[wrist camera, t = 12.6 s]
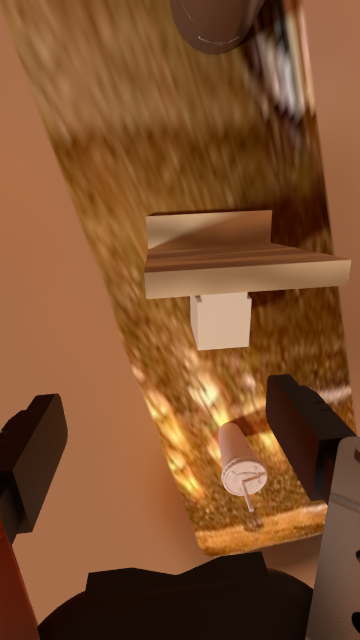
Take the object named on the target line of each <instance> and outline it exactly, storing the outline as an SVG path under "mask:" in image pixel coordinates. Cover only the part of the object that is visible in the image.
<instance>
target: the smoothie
mask: <svg viewBox="0 0 360 640" xmlns="http://www.w3.org/2000/svg"><path fill="white" fill-rule="evenodd" d="M218 435H219V443H220V451H221V460H222V468H223V471H222V481H223V484H224V487H225V488H226V490H227V491H228V492H230V493H231V494H234V495H238V496H245V498H246V502H247V505H248V508H249V511H250V512H252V511H254V509H253V506H252V503H251V500H250V497H249V495H250V494H253V493H255V492H257V491H259V490H260V489H261V488H262V487H263V486H264V485H265V483H266V481H267V471H266V468H265V465H264V463H263V462H262V461H261V460H260V459H258V458H257V456H256V454H255V453H254V451H253V449H252V448H251V446H250V444H249V443H248V441H247V440H246V438H245V436H244V435H243V433H242V431H241V430H240V428H239V426H238V425H237V424H235V423H231V422H229V423H225V424H223V425H222V426H221V427H220V428H219V431H218Z"/></svg>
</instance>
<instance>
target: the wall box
mask: <svg viewBox="0 0 360 640" xmlns="http://www.w3.org/2000/svg"><path fill="white" fill-rule="evenodd" d="M247 293H248V292H240V293H226V294H211V295H197V296H190V306H191V327H192V330H193V334H194V337H195V341H196V344H197V348H198V350H209V349H222V348H234V347H247V346H249V331H250V316H251V301H252V299H251V298H250V296H249V295H248V294H247Z"/></svg>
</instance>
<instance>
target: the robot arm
mask: <svg viewBox="0 0 360 640" xmlns="http://www.w3.org/2000/svg"><path fill="white" fill-rule="evenodd" d="M264 1H265V0H171V7H172V12H173V17H174V19H175V22H176V25H177V27H178V29H179V31H180V32H181V34H182V36H183V37H184V38H185V39H186V40H187V41H188V43H189V44H190V45H192V46H193V47H195V48H196V49H197V50H200V51H202V52H205V53H209V54H219V53H224V52H227V51H229V50H231V49H233V48H234V47H236V46H237V45H238V44H240V42H241V41H242V40H243V39H244V38H245V37H246V35H247V33H248V32H249V30H250V28H251V26H252V24H253V22H254V20H255V18H256V16H257V15H258V13H259V11H260V9H261V7H262V5H263V3H264ZM266 417H267V421H268V424H269V426H270V428H271V430H272V432H273V434H274V435H275V437H276V439H277V441H278V443H279V444H280V446H281V448H282V450H283V452H284V453H285V455H286V457H287V459H288V461H289V463H290V464H291V466H292V468H293V470H294V472H295V473H296V475H297V477H298V479H299V481H300V482H301V484H302V486H303V488H304V490H305V492H306V493H307V495H308V497H309V499H310V501H317V500H325V502H326V504H327V505H328V508H327V514H326V520H325V526H324V532H323V538H322V544H321V549H320V555H319V561H318V567H317V573H316V578H315V584H314V589H312V588H311V587H309V586H308V585H307V584H305V583H304V582H302V581H300V580H298V579H297V578H295V577H293V576H291V575H289V574H287V573H285V572H282V571H278V570H275V569H272V568H267V567H266V565H265V562H264V558H263V555H262V552H261V551H260V552H253V553H244V554H236V555H228V556H220V557H218V558H216V559H213V560H211V561H209V562H207V563H204V564H202V565H200V566H198V567H195V568H193V569H191V570H189V571H186V572H184V573H182V574H179V575H171V574H166V573H160V572H155V571H149V570H143V569H137V568H124V569H116V570H109V571H100V572H92V573H89V574H88V579H87V584H86V590H85V591H84V592H81V593H79V594H77V595H76V596H74V597H72V598H70V599H69V600H67V601H66V602H65V603H63V604H62V605H60V606H59V607H58V608H57V609H55V610H54V611H53V612H52V613H51V614H50V615H48V617H46V618H45V619H44V620H43V621H42V622H41V623H40V624H39V625H38V622H37V619H36V617H35V614H34V611H33V608H32V605H31V602H30V599H29V596H28V593H27V590H26V587H25V584H24V581H23V578H22V575H21V572H20V569H19V566H18V563H17V560H16V557H15V554H14V551H13V548H12V544H13V541H14V539H15V537H16V535H17V534H20V533H28V532H32V531H33V528H34V525H35V523H36V520H37V518H38V515H39V513H40V510H41V508H42V505H43V502H44V500H45V497H46V495H47V492H48V489H49V487H50V484H51V482H52V479H53V477H54V474H55V472H56V469H57V467H58V464H59V461H60V459H61V456H62V453H63V451H64V449H65V446H66V443H67V436H68V435H67V434H68V431H67V424H66V420H65V415H64V410H63V406H62V401H61V397H60V396H59V394H46V395H37V396H35V398H34V399H33V401H32V402H31V404H30V405H29V406H28V408H27V409H26V410H21V411H20V412H18V413H17V414H16V415H15V416H13V417H12V418H11V419H10V420H8V422H7V423H6V424H5V426H4V427H3V428H2V430H1V433H0V640H360V437H357V436H356V434H355V433H354V432H353V431H352V430H351V429H350V428H349V427H348V426H347V425H346V424H345V423H344V422H343V420H342V419H341V418H340V417H339V416H338V415H337V414H336V413H335V412H334V411H332V409H331V408H330V406H329V405H328V404H327V403H325V401H324V400H323V399H322V398H321V397H320V396H319V395H318V393H316V392H315V391H313V390H311V389H310V388H308V387H306V386H299V385H298V383H297V382H296V381H295V380H294V379H293V378H292V376H291V375H289V374H282V375H270V376H269V377H268V380H267V395H266Z"/></svg>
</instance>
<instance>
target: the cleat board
mask: <svg viewBox="0 0 360 640" xmlns="http://www.w3.org/2000/svg"><path fill="white" fill-rule="evenodd" d="M271 221H272V210H261V211H242V212H223V213H203V214H184V215H164V216H146V225H147V237H148V249H149V250H148V255H147V260H146V266H145V271H144V277H145V288H146V299H153V298H168V297H182V296H197V295H211V294H226V293H240V292H255V291H269V290H284V289H298V288H313V287H328V286H341V285H348V279H349V273H350V265H351V260H350V259H346V258H341V257H336V256H332V255H327V254H322V253H318V252H313V251H308V250H304V249H299V248H294V247H290V246H285V245H280V244H276V243H271V242H270V240H271Z"/></svg>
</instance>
